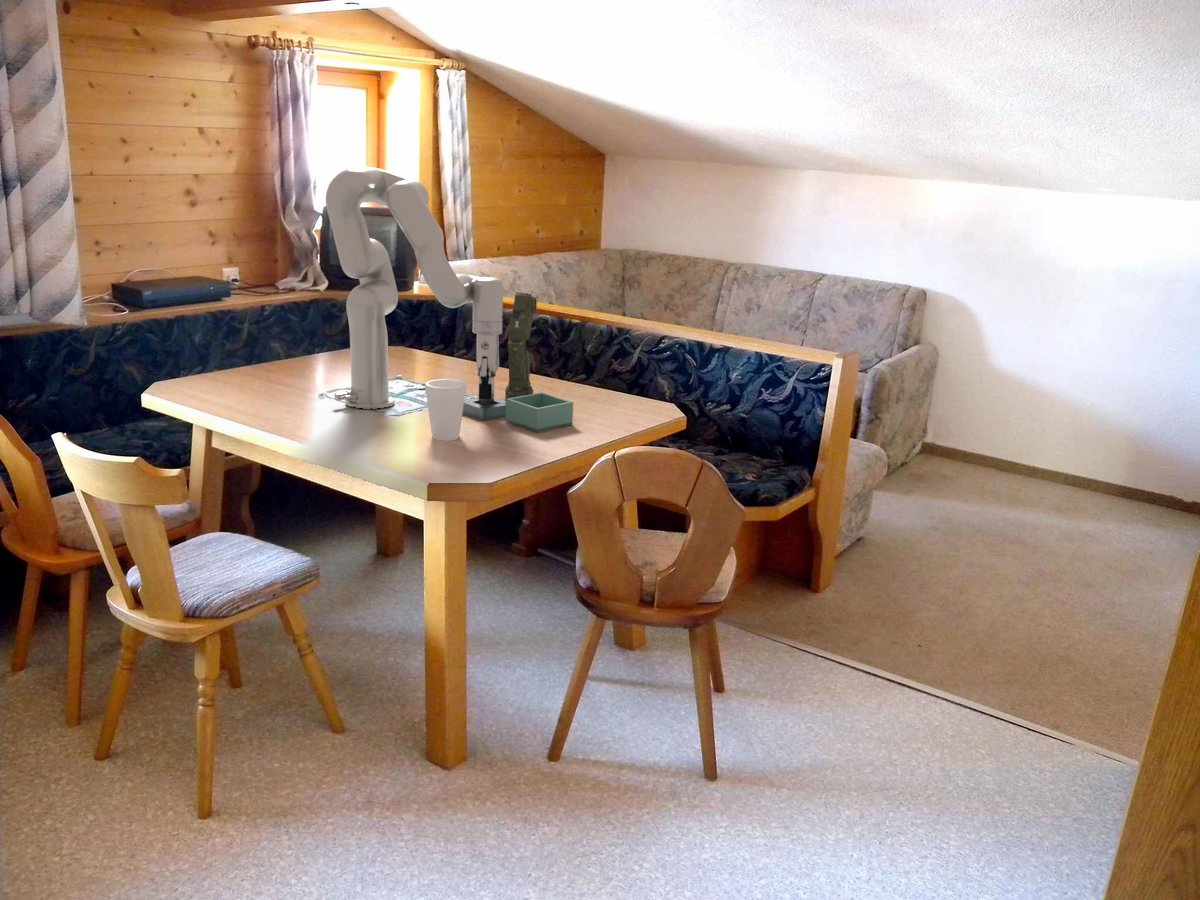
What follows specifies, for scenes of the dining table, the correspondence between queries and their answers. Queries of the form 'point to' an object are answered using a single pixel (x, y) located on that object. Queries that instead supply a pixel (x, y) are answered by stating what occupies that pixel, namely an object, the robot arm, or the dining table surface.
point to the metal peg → (491, 401)
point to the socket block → (484, 409)
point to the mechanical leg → (520, 346)
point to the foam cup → (445, 407)
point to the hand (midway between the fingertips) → (486, 396)
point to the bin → (539, 412)
